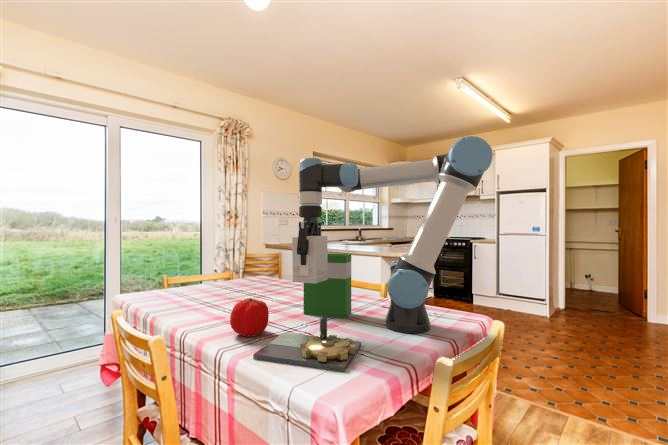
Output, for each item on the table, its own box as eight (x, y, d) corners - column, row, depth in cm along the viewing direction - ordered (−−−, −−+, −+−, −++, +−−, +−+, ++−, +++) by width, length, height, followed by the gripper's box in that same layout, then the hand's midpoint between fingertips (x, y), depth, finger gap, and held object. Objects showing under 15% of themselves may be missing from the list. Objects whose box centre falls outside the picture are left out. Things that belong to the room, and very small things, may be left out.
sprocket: (364, 357, 82) (364, 327, 83) (308, 365, 77) (308, 333, 78) (343, 338, 96) (343, 312, 97) (294, 344, 91) (294, 317, 92)
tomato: (232, 343, 96) (232, 304, 96) (227, 330, 108) (228, 295, 109) (272, 337, 101) (273, 300, 101) (264, 326, 113) (264, 293, 114)
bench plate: (361, 345, 94) (361, 341, 94) (344, 372, 77) (344, 366, 77) (284, 336, 102) (284, 332, 102) (253, 358, 85) (253, 353, 85)
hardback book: (303, 314, 129) (303, 254, 129) (310, 309, 136) (311, 252, 136) (345, 318, 123) (345, 255, 123) (351, 313, 130) (351, 253, 130)
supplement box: (328, 279, 109) (328, 235, 109) (316, 284, 101) (316, 236, 101) (305, 278, 113) (305, 235, 113) (291, 282, 105) (291, 236, 105)
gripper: (312, 207, 119) (312, 268, 119) (285, 203, 98) (285, 277, 98) (331, 207, 117) (331, 269, 116) (308, 202, 96) (308, 278, 95)
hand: (310, 273), depth 107 cm, fingers closed on supplement box, 9 cm apart
